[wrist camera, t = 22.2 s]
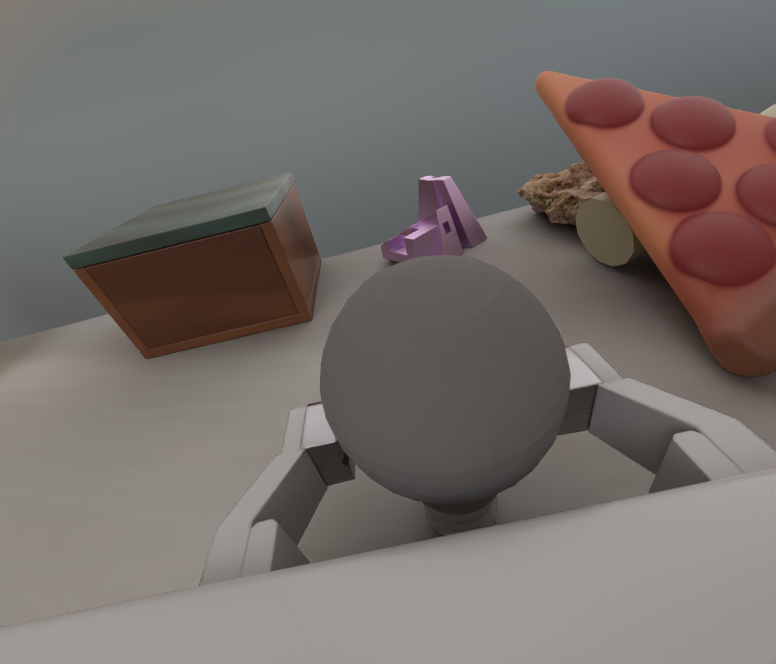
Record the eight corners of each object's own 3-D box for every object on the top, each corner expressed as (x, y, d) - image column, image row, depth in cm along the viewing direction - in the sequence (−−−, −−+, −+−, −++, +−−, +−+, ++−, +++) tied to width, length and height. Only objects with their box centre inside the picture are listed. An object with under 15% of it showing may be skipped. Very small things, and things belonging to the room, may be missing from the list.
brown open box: (198, 290, 36) (154, 218, 32) (321, 261, 36) (294, 183, 31) (145, 359, 27) (72, 270, 22) (312, 320, 26) (271, 221, 22)
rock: (615, 144, 37) (736, 116, 28) (615, 193, 39) (729, 181, 30) (499, 182, 32) (605, 162, 23) (506, 236, 34) (606, 237, 25)
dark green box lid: (158, 216, 33) (152, 206, 32) (295, 181, 32) (291, 171, 32) (72, 269, 22) (61, 257, 22) (271, 220, 22) (265, 206, 21)
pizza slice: (785, 375, 13) (435, 121, 20) (735, 390, 15) (434, 154, 22) (1008, 139, 16) (639, -4, 24) (942, 177, 18) (622, 34, 26)
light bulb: (425, 424, 16) (377, 217, 11) (564, 471, 13) (605, 212, 7) (353, 548, 12) (218, 330, 7) (524, 656, 9) (542, 420, 4)
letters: (428, 275, 28) (417, 202, 25) (377, 260, 33) (361, 197, 30) (487, 237, 32) (484, 169, 28) (433, 229, 37) (425, 169, 33)
